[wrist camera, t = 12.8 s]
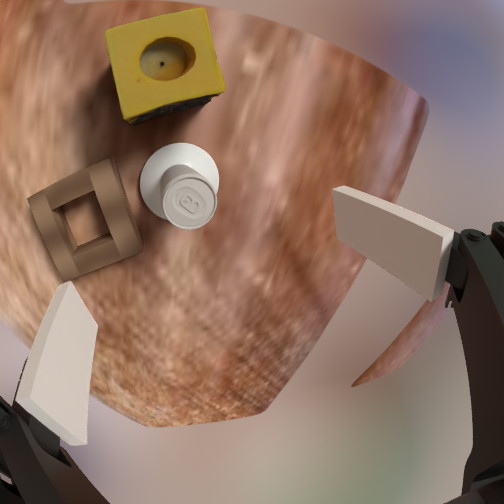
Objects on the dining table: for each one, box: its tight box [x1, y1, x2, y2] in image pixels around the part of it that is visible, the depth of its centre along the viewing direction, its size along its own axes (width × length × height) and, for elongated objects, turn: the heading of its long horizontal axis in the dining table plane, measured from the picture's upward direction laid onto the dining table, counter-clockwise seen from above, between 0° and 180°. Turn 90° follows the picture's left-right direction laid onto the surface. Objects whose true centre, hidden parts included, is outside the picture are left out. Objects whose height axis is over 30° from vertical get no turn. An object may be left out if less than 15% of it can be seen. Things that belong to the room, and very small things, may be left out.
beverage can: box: [160, 164, 217, 230], centre depth 27 cm, size 5×5×12 cm
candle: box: [104, 7, 226, 125], centre depth 22 cm, size 10×10×10 cm
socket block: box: [27, 156, 144, 282], centre depth 29 cm, size 12×12×4 cm
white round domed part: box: [140, 143, 219, 220], centre depth 32 cm, size 10×10×1 cm
